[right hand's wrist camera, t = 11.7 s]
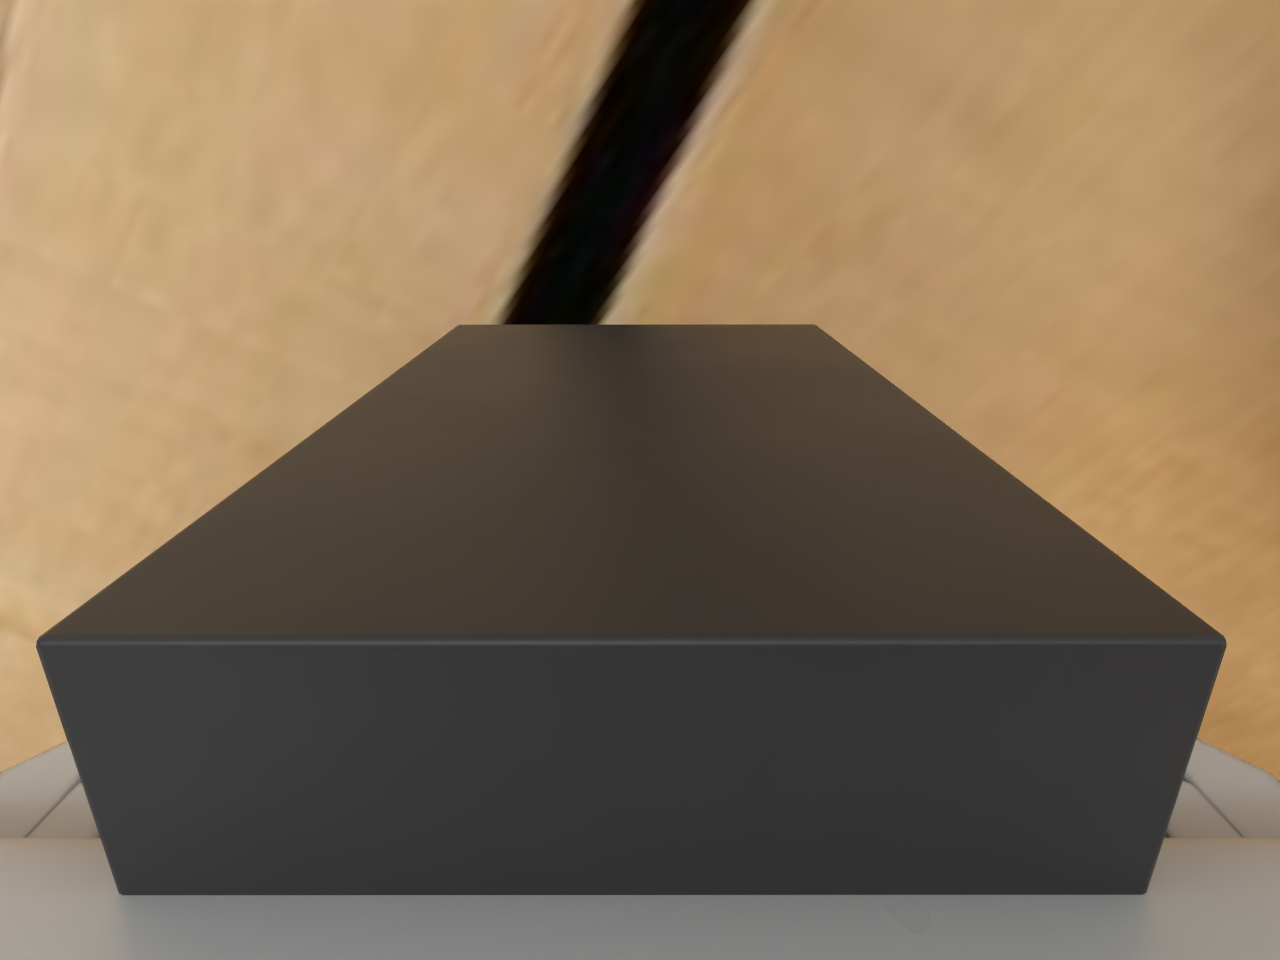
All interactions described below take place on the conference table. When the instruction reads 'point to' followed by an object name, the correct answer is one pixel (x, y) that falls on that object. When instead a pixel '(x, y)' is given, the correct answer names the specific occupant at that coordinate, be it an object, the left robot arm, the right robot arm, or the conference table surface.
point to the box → (632, 646)
